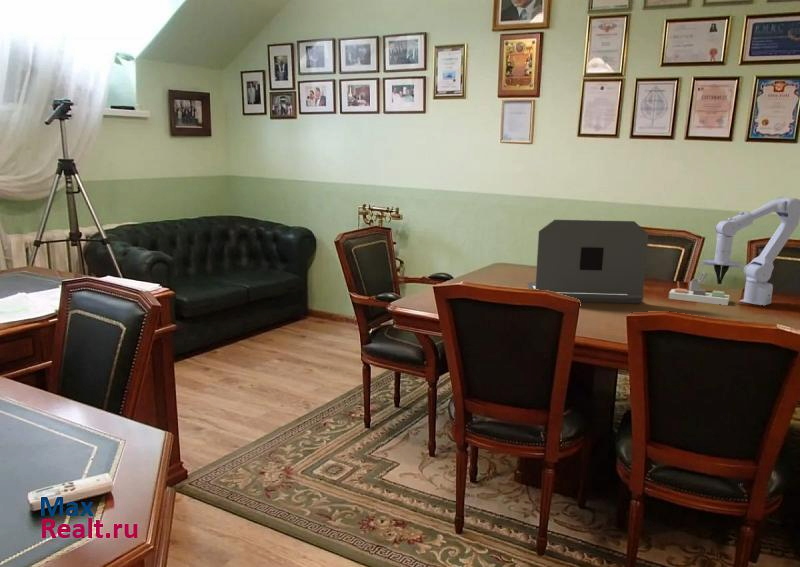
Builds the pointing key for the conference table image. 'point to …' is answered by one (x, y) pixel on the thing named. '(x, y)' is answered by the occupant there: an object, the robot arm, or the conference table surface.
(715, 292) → the sage button
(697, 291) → the charcoal button
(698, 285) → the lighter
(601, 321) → the conference table surface
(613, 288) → the laptop
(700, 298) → the button panel
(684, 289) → the terracotta button
